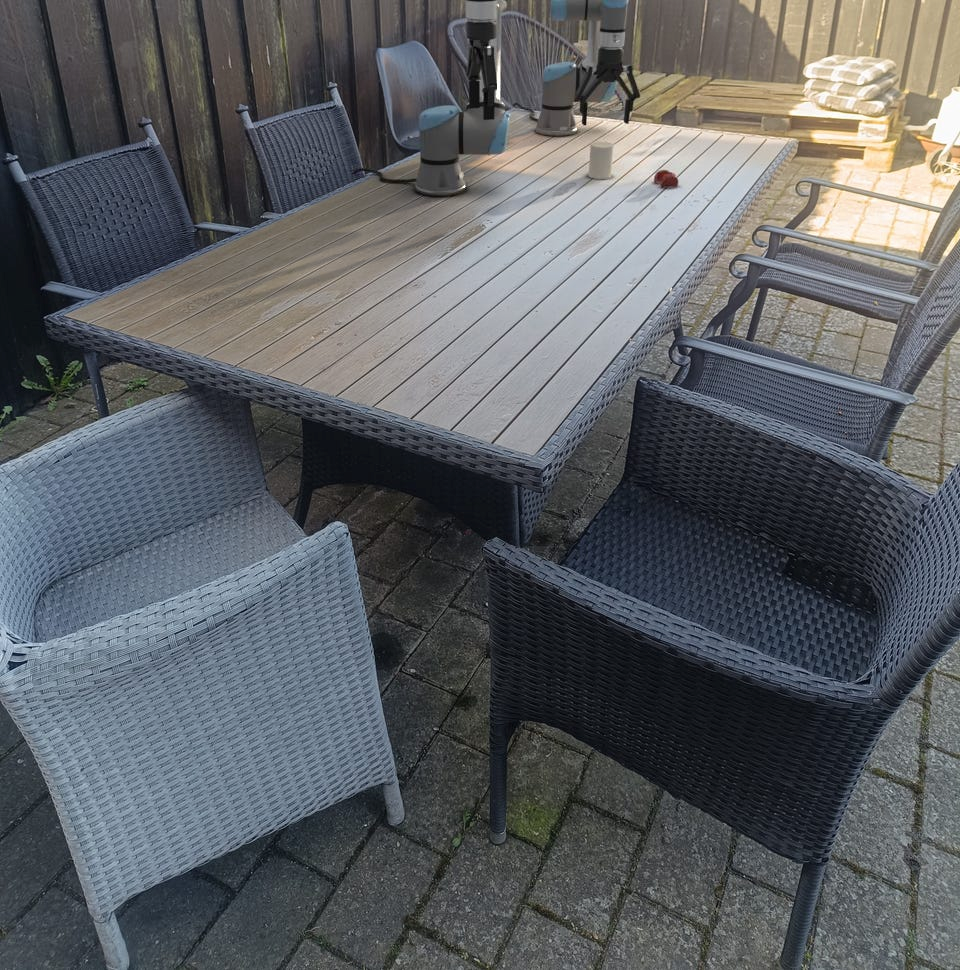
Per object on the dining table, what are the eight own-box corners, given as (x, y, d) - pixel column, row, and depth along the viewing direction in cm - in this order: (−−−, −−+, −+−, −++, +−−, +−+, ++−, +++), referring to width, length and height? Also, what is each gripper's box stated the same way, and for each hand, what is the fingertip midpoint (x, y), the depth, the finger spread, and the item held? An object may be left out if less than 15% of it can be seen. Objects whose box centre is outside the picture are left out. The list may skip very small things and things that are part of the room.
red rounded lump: (669, 166, 264) (680, 173, 258) (668, 179, 266) (679, 187, 260) (653, 168, 263) (663, 175, 257) (652, 181, 265) (662, 189, 259)
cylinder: (595, 180, 267) (597, 148, 261) (584, 174, 272) (586, 142, 266) (615, 177, 269) (618, 146, 263) (604, 172, 274) (606, 140, 269)
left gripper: (511, 26, 196) (509, 123, 208) (482, 13, 215) (482, 102, 228) (480, 27, 194) (480, 125, 207) (453, 14, 214) (455, 104, 226)
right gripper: (573, 50, 245) (569, 127, 257) (655, 48, 249) (647, 124, 261) (567, 46, 251) (563, 122, 263) (647, 44, 255) (639, 119, 267)
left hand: (481, 113), depth 217 cm, fingers open, 13 cm apart
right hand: (605, 123), depth 262 cm, fingers open, 13 cm apart
